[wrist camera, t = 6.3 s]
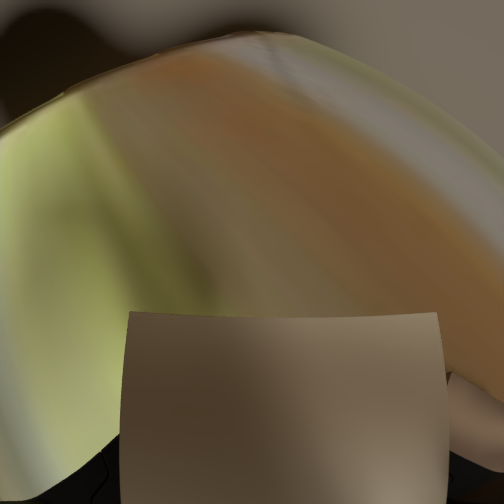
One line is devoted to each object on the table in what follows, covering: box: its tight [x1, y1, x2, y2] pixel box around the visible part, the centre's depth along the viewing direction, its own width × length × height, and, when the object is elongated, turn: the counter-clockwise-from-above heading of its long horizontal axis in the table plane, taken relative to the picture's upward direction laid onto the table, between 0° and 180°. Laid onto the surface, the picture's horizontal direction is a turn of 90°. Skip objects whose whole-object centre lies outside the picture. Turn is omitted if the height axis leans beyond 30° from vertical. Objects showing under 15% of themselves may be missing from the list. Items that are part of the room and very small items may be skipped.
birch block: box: [119, 311, 449, 504], centre depth 8 cm, size 5×5×12 cm
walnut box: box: [446, 372, 504, 472], centre depth 16 cm, size 12×12×4 cm
